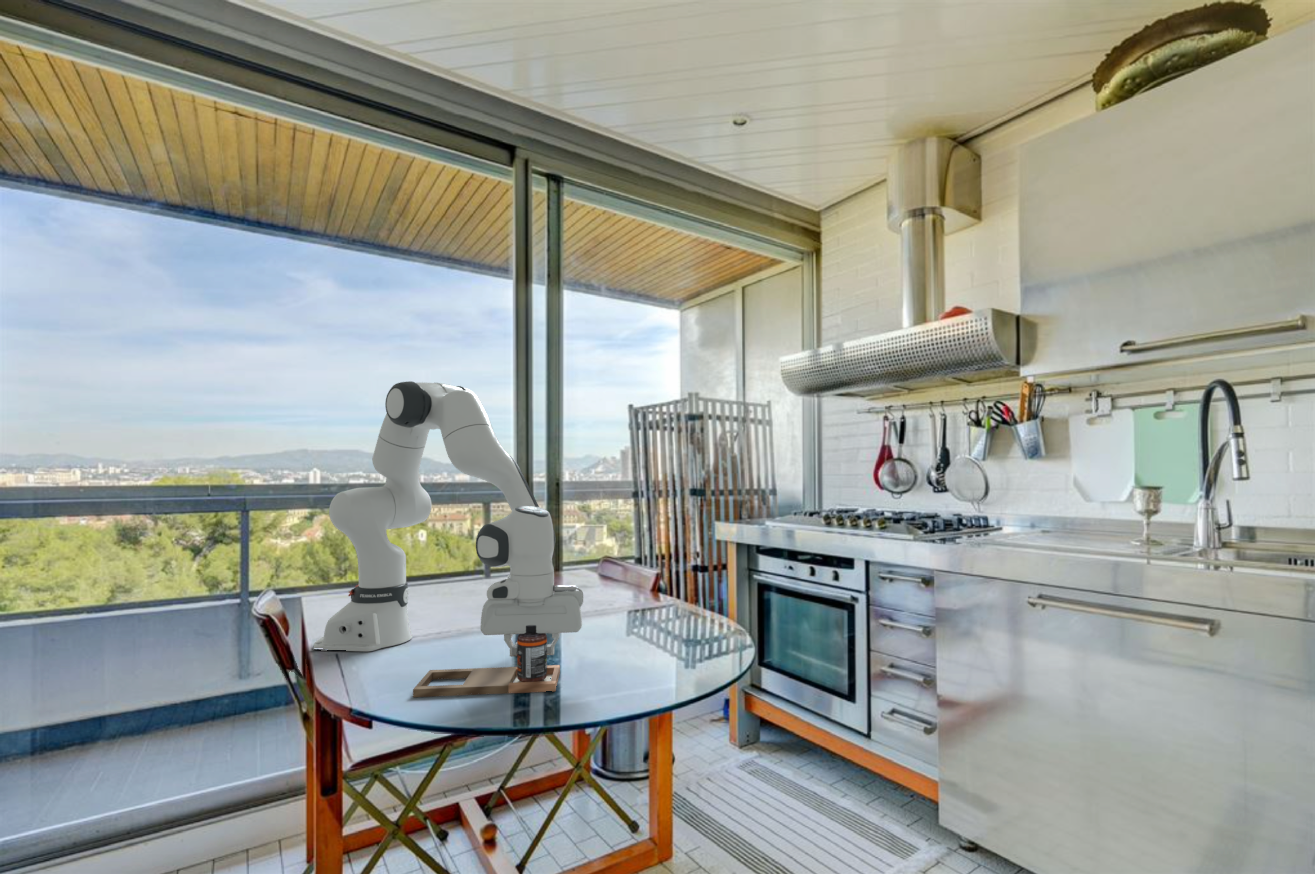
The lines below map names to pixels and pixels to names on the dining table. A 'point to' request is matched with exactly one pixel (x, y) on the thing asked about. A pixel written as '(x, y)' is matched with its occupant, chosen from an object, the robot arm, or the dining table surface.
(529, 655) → the supplement bottle
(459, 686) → the wooden compartment tray
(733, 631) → the dining table surface
